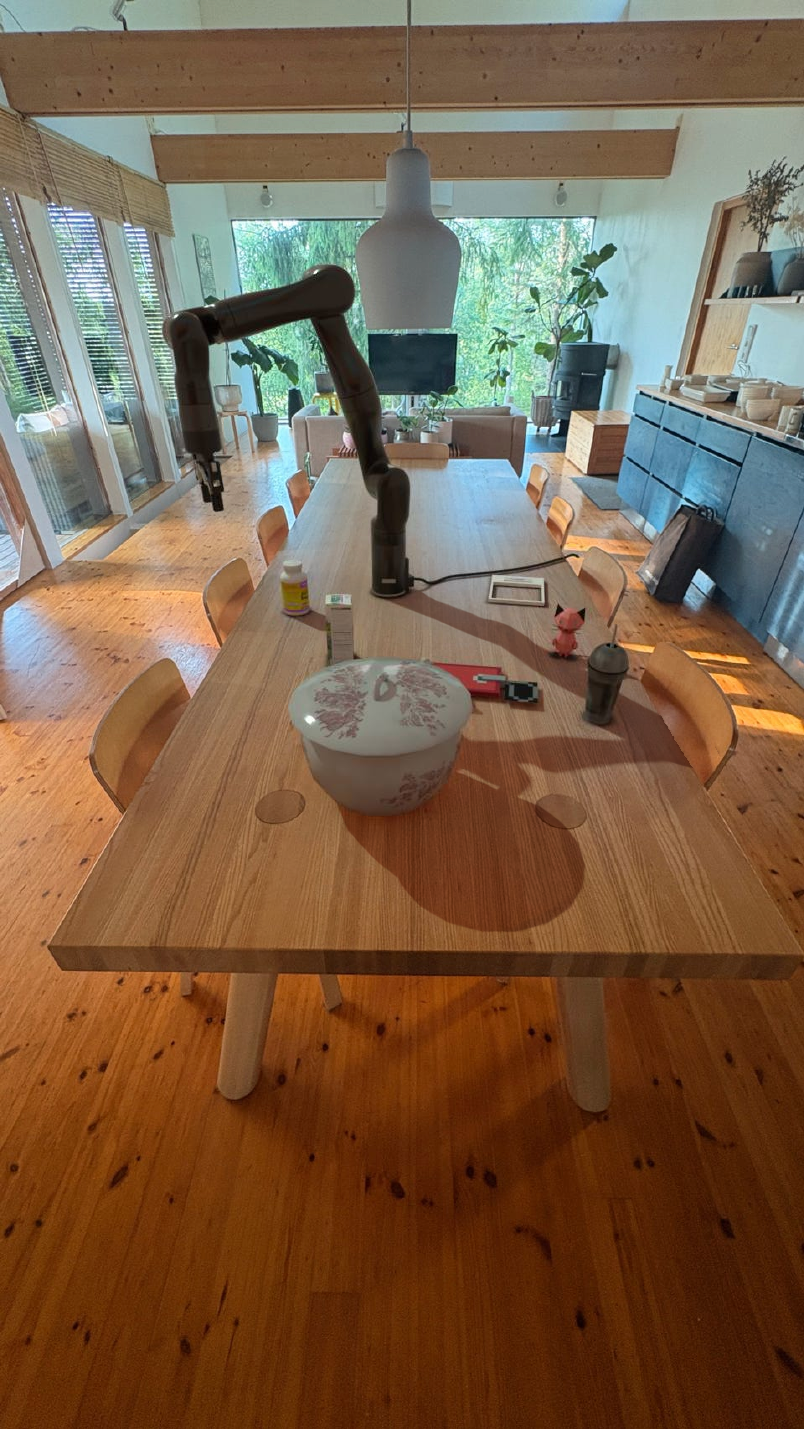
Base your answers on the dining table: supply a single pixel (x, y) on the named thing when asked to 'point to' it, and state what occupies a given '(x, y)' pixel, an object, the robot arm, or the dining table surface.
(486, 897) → the dining table surface
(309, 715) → the chamber pot
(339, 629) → the syrup box
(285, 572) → the supplement bottle
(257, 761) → the dining table surface
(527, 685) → the red board with handle
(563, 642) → the cat figurine
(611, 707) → the beverage cup
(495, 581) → the photo frame
